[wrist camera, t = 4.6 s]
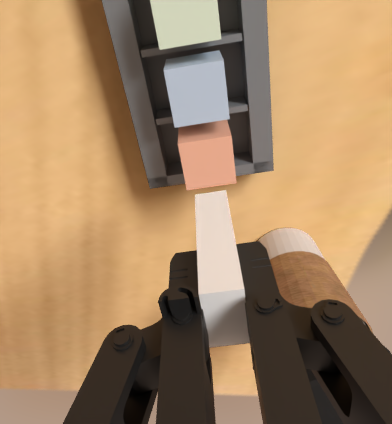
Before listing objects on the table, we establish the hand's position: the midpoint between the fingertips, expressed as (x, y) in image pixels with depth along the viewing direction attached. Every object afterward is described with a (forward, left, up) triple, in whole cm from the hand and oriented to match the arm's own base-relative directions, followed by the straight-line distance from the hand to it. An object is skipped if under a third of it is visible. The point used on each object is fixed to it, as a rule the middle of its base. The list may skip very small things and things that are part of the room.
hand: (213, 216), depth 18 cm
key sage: (-9, 0, -8) cm, 12 cm away
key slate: (-4, 0, -8) cm, 9 cm away
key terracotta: (0, 0, -8) cm, 8 cm away
